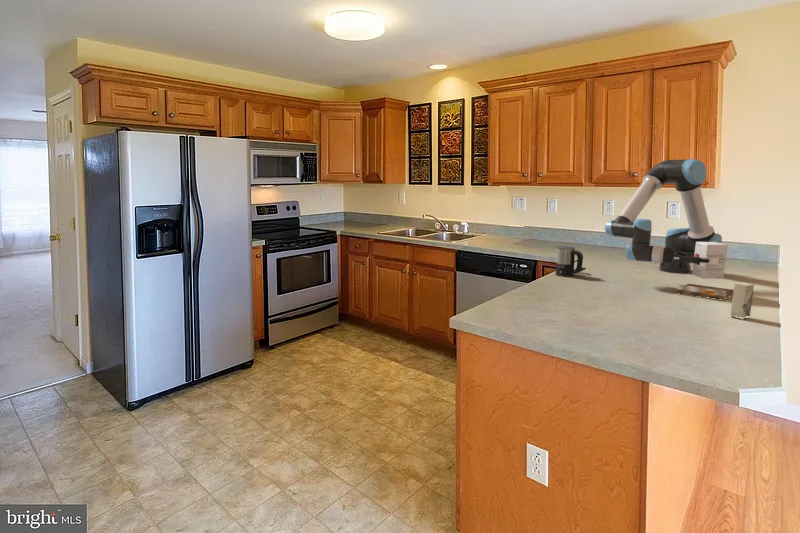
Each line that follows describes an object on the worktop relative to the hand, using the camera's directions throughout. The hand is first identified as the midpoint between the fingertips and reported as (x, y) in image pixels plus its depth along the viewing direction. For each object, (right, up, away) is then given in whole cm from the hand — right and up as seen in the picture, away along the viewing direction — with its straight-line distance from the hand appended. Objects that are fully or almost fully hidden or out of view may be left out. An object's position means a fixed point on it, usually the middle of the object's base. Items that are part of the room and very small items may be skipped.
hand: (719, 259), depth 216 cm
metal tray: (-4, -15, +4) cm, 16 cm away
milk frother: (-48, -7, +47) cm, 68 cm away
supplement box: (-3, -8, +4) cm, 9 cm away
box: (-12, -22, -31) cm, 40 cm away
